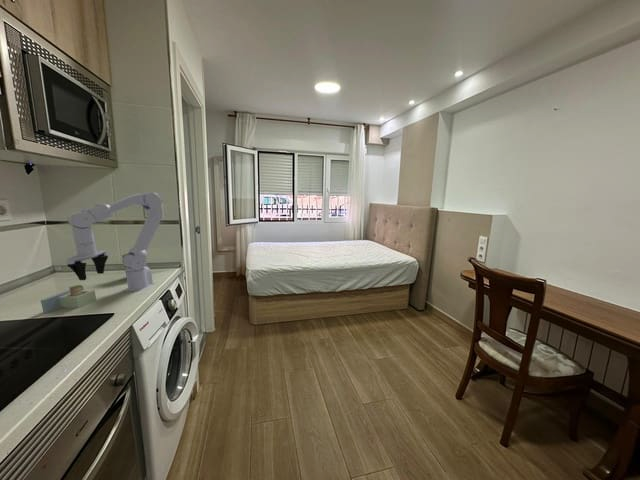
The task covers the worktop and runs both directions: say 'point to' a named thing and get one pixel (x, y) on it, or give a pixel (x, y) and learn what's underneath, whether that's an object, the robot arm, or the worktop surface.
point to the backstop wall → (53, 302)
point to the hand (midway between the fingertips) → (92, 276)
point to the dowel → (76, 290)
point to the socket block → (77, 299)
